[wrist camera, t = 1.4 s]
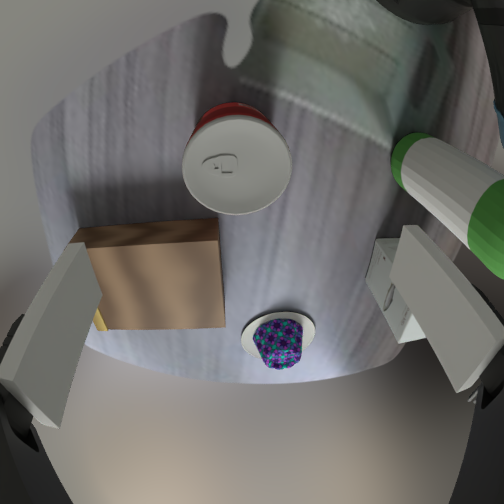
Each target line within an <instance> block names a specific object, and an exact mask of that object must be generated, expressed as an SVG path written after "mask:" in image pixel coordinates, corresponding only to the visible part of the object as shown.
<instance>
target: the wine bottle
mask: <svg viewBox="0 0 504 504" xmlns="http://www.w3.org/2000/svg"><path fill="white" fill-rule="evenodd" d="M391 170H392V173H393V176H394V179H395V180H396V181H397V183H398V184H399V185H400V186H401V187H402V188H403V189H404V190H405V191H407V192H408V193H409V194H410V195H411V196H412V197H413V198H415V199H416V200H417V201H418V202H419V203H421V204H422V205H423V206H424V207H425V208H426V209H427V210H429V211H430V212H431V213H432V214H433V215H434V216H435V217H436V218H437V219H439V220H440V221H441V222H442V223H443V224H444V225H445V226H446V227H447V228H448V229H449V230H450V231H451V232H453V233H454V234H455V235H456V236H457V237H458V238H459V239H460V240H461V241H462V242H463V243H464V244H465V245H466V246H467V247H468V248H469V249H470V250H471V251H472V252H473V253H474V254H475V255H476V256H477V257H478V258H479V259H480V260H481V261H482V262H483V263H484V264H485V266H486V267H487V268H489V270H491V271H492V272H493V273H494V274H495V275H497V276H498V277H500V278H502V279H504V175H503V174H501V173H499V172H498V171H496V170H494V169H493V168H491V167H489V166H488V165H486V164H484V163H483V162H481V161H479V160H477V159H476V158H474V157H472V156H470V155H468V154H467V153H465V152H463V151H461V150H459V149H457V148H455V147H453V146H451V145H449V144H447V143H445V142H443V141H441V140H439V139H437V138H434V137H432V136H430V135H428V134H426V133H418V132H416V133H411V134H408V135H407V136H405V137H403V138H402V139H401V140H400V141H399V142H398V143H397V145H396V147H395V148H394V151H393V153H392V157H391Z"/></svg>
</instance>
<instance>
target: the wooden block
mask: <svg viewBox="0 0 504 504" xmlns="http://www.w3.org/2000/svg"><path fill="white" fill-rule="evenodd" d="M81 242H84V243H85V247H86V250H87V253H88V256H89V259H90V262H91V265H92V267H93V270H94V273H95V276H96V279H97V281H98V284H99V287H100V289H101V292H102V294H103V295H102V297H101V300H100V302H99V305H98V308H97V310H96V313H95V315H94V318H93V322H94V324H95V326H96V328H97V330H98V331H108V329H121V330H156V329H198V328H221V327H226V326H225V299H224V287H223V275H222V263H221V250H220V236H219V222H218V218H208V219H191V220H176V221H162V222H148V223H135V224H123V225H112V226H100V227H90V228H79V229H78V231H77V232H76V234H75V235H74V236H73V238H72V239H71V241H70V242H69V243H81ZM69 243H68V244H69ZM66 247H67V246H66ZM64 250H65V249H64Z"/></svg>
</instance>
